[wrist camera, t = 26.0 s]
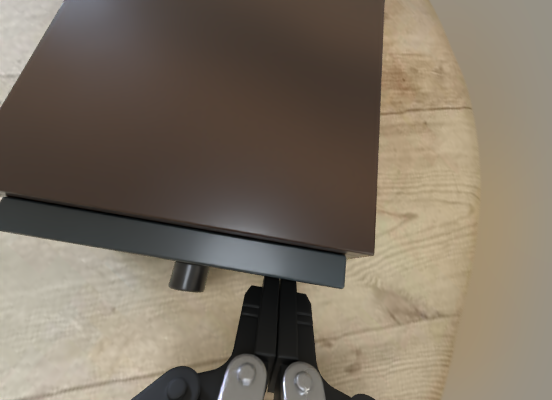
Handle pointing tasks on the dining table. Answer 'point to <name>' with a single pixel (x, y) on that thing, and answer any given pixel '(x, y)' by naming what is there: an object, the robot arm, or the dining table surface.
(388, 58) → the dining table surface
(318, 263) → the drawer
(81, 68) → the cabinet
